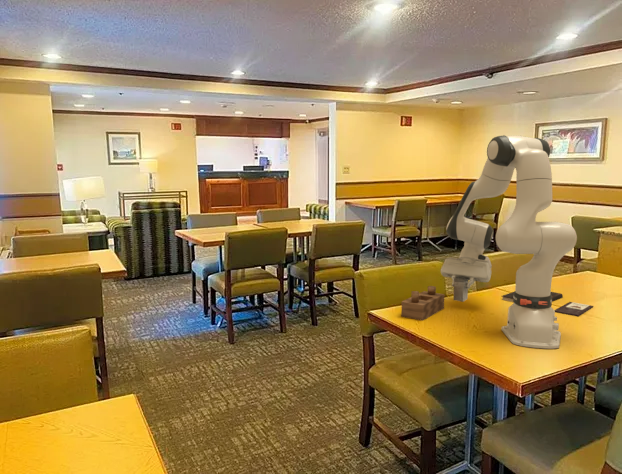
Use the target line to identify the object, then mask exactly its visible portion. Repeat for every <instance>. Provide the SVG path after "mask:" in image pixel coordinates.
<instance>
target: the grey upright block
mask: <svg viewBox="0 0 622 474" xmlns="http://www.w3.org/2000/svg"><path fill="white" fill-rule="evenodd" d="M469 281H470V280H469V278H466V277H457V278H455V279H454V286H453V301H455V302H456V301H457V302H462V303H464V302H465V301H466V300H468V296H469V292H468V291H469V289H467V288H465V285H466V283H468V282H469Z"/></svg>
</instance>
